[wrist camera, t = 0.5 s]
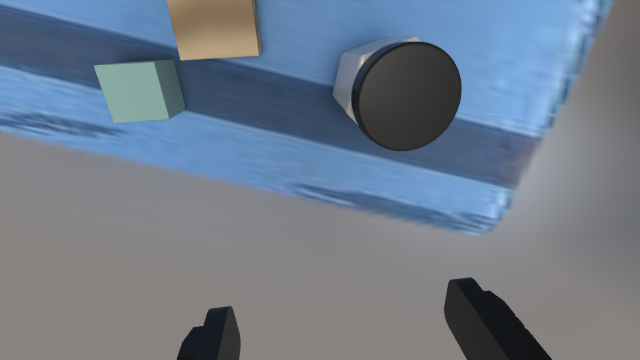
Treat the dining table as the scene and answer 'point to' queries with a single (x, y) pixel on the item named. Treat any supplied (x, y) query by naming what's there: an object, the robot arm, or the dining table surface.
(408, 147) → the jar
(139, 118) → the teal cube
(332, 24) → the dining table surface
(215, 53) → the base block
